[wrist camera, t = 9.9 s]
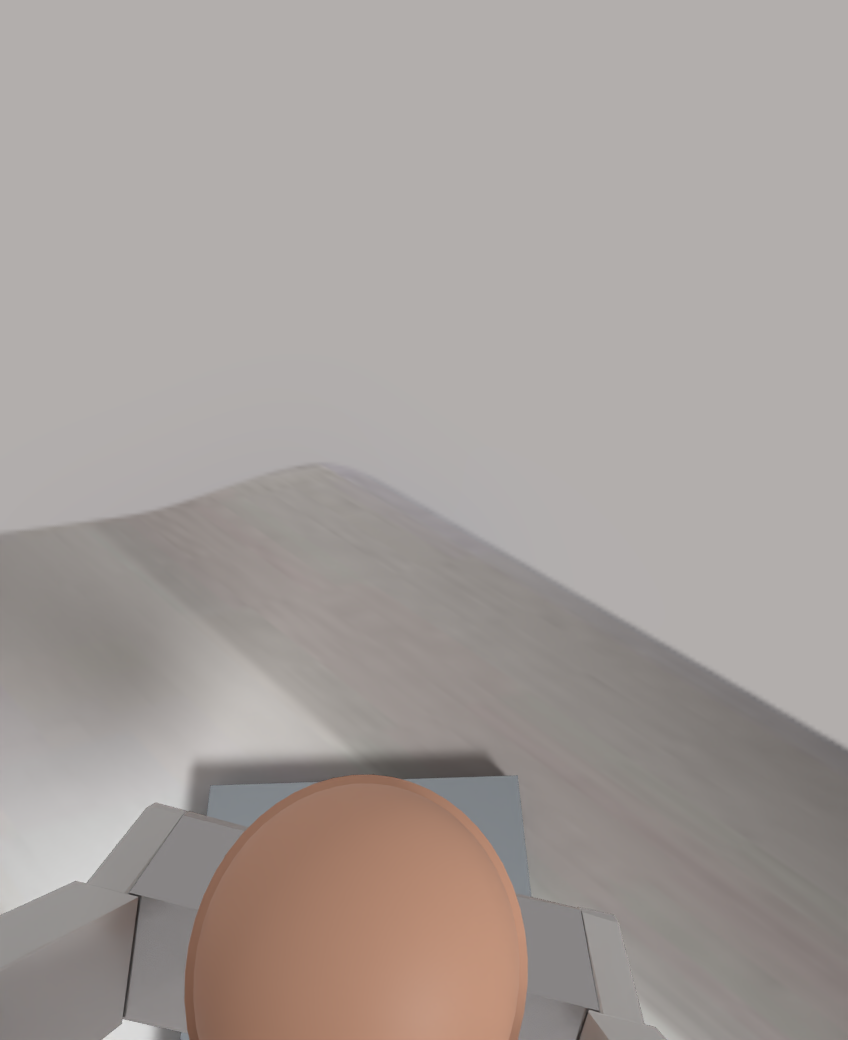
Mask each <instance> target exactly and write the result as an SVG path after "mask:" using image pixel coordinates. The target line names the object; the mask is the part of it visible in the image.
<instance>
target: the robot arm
mask: <svg viewBox="0 0 848 1040" xmlns="http://www.w3.org/2000/svg"><path fill="white" fill-rule="evenodd" d="M247 828H248V827H246V826H242V825H239V824H235V823H231V822H228V821H224V820H220V819H217V818H213V817H209V816H206V815H202V814H198V813H195V812H191V811H188V812H187V811H185V810H181V809H178V808H174V807H170V806H166V805H163V804H159V803H154V804H152V805H150V806H149V807H147V808H146V809H145V810H144V811H143V813H142V814H141V815H140V816H139V818H138V819H137V820H136V821H135V823H134V824H133V825H132V826H131V828H130V829H129V830H128V831H127V833H126V834H125V835H124V836H123V838H122V839H121V840H120V842H119V843H118V844H117V845H116V847H115V848H114V849H113V850H112V852H111V853H110V854H109V855H108V857H107V858H106V859H105V860H104V862H103V863H102V864H101V865H100V867H99V868H98V869H97V870H96V872H95V873H94V874H93V875H92V877H91V878H90V879H89V880H88V882H87V883H82V882H78V881H74V882H72V883H70V884H68V885H66V886H63V887H61V888H59V889H57V890H55V891H52V892H50V893H48V894H46V895H44V896H41V897H39V898H37V899H35V900H33V901H30V902H28V903H26V904H24V905H22V906H19V907H17V908H15V909H13V910H11V911H8V912H6V913H4V914H2V915H0V1040H102V1039H103V1038H104V1037H106V1036H107V1035H108V1034H109V1033H111V1032H112V1031H113V1030H114V1029H116V1028H117V1027H118V1026H120V1025H121V1024H122V1019H125V1020H129V1021H134V1022H138V1023H143V1024H147V1025H152V1026H156V1027H161V1028H165V1029H170V1030H174V1031H178V1032H183V1033H187V1034H188V1031H187V1023H186V1013H185V1002H184V994H185V969H186V961H187V953H188V946H189V942H190V938H191V933H192V929H193V925H194V921H195V918H196V915H197V912H198V910H199V907H200V904H201V901H202V899H203V896H204V894H205V892H206V890H207V887H208V885H209V883H210V881H211V879H212V877H213V875H214V873H215V871H216V870H217V868H218V867H219V865H220V864H221V862H222V860H223V859H224V857H225V856H226V854H227V852H228V851H229V850H230V849H231V847H232V846H233V845H234V844H235V842H236V841H237V840H238V839H239V837H240V836H241V835H242V834H243V832H244V831H245V830H246V829H247ZM515 894H516V897H517V900H518V903H519V906H520V910H521V915H522V919H523V924H524V929H525V935H526V945H527V956H528V983H527V993H526V1002H525V1010H524V1015H523V1020H522V1024H521V1028H520V1032H519V1037H518V1040H666V1039H665V1037H664V1036H663V1035H662V1034H661V1033H660V1031H659V1030H658V1029H657V1028H656V1027H653V1026H649V1025H645V1023H644V1020H643V1016H642V1012H641V1008H640V1004H639V1000H638V996H637V992H636V988H635V984H634V980H633V977H632V973H631V969H630V965H629V961H628V957H627V953H626V949H625V945H624V941H623V937H622V934H621V930H620V926H619V922H618V920H617V919H616V917H615V916H614V915H612V914H608V913H603V912H599V911H594V910H590V909H585V908H581V907H578V908H575V907H572V906H568V905H564V904H559V903H555V902H551V901H547V900H543V899H538V898H534V897H530V896H526V895H522V894H517V893H515Z"/></svg>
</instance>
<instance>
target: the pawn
mask: <svg viewBox="0 0 848 1040" xmlns="http://www.w3.org/2000/svg"><path fill="white" fill-rule="evenodd" d="M527 983H528V956H527V945H526V935H525V929H524V924H523V919H522V915H521V910H520V906H519V903H518V900H517V897H516V894H515V891H514V888H513V885H512V883H511V880H510V878H509V876H508V874H507V872H506V869H505V867H504V865H503V863H502V861H501V860H500V858H499V856H498V855H497V853H496V851H495V850H494V848H493V846H492V845H491V843H490V842H489V841H488V840H487V838H486V837H485V836H484V834H483V833H482V832H481V831H480V829H479V828H478V827H477V826H476V825H475V824H474V823H473V822H472V821H471V820H470V819H469V818H468V817H467V816H466V815H465V814H464V813H463V812H462V811H461V810H459V809H458V808H457V807H456V806H454V805H453V804H452V803H450V802H449V801H448V800H446V799H445V798H443V797H441V796H440V795H438V794H436V793H434V792H433V791H431V790H429V789H427V788H424V787H422V786H420V785H417V784H415V783H412V782H409V781H406V780H402V779H398V778H394V777H388V776H380V775H350V776H343V777H337V778H332V779H328V780H325V781H322V782H318V783H315V784H312V785H310V786H308V787H306V788H303V789H301V790H299V791H297V792H294V793H293V794H291V795H289V796H288V797H286V798H285V799H283V800H281V801H280V802H278V803H276V804H275V805H274V806H272V807H271V808H270V809H269V810H267V811H266V812H265V813H264V814H262V815H261V816H260V817H259V818H258V819H257V820H256V821H255V822H254V823H253V824H252V825H251V826H250V827H248V828H247V829H246V830H245V831H244V832H243V834H242V835H241V836H240V837H239V839H238V840H237V841H236V842H235V844H234V845H233V846H232V847H231V849H230V850H229V851H228V852H227V854H226V856H225V857H224V859H223V860H222V862H221V864H220V865H219V867H218V868H217V870H216V871H215V873H214V875H213V877H212V879H211V881H210V883H209V885H208V887H207V890H206V892H205V894H204V896H203V899H202V901H201V904H200V907H199V910H198V912H197V915H196V918H195V921H194V925H193V929H192V933H191V938H190V942H189V946H188V953H187V961H186V969H185V994H184V1002H185V1013H186V1023H187V1031H188V1035H189V1040H518V1037H519V1032H520V1028H521V1024H522V1020H523V1015H524V1010H525V1002H526V993H527Z"/></svg>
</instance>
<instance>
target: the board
mask: <svg viewBox="0 0 848 1040" xmlns="http://www.w3.org/2000/svg"><path fill="white" fill-rule="evenodd" d="M402 780H406V781H409V782H412V783H415V784H417V785H420V786H422V787H424V788H427V789H429V790H431V791H433V792H434V793H436V794H438V795H440V796H441V797H443V798H445V799H446V800H448V801H449V802H450V803H452V804H453V805H454V806H456V807H457V808H458V809H459V810H461V811H462V812H463V813H464V814H465V815H466V816H467V817H468V818H469V819H470V820H471V821H472V822H473V823H474V824H475V825H476V826H477V827H478V828H479V829H480V831H481V832H482V833H483V834H484V836H485V837H486V838H487V840H488V841H489V842H490V843H491V845H492V846H493V848H494V850H495V851H496V853H497V855H498V856H499V858H500V860H501V861H502V863H503V865H504V867H505V869H506V872H507V874H508V876H509V878H510V880H511V883H512V885H513V888H514V891H515V893H517V894H522V895H526V896H530V897H531V890H530V881H529V872H528V863H527V855H526V846H525V837H524V828H523V819H522V810H521V801H520V793H519V784H518V775H516V776H485V777H454V778H423V779H402ZM315 783H318V782H300V783H269V784H238V785H210V793H209V801H208V810H207V816H209V817H213V818H217V819H220V820H224V821H228V822H231V823H235V824H239V825H242V826H246V827H250V826H251V825H252V824H253V823H254V822H255V821H256V820H257V819H258V818H259V817H260V816H261V815H262V814H264V813H265V812H266V811H267V810H269V809H270V808H271V807H272V806H274V805H275V804H276V803H278V802H280V801H281V800H283V799H285V798H286V797H288V796H289V795H291V794H293V793H294V792H297V791H299V790H301V789H303V788H306V787H308V786H310V785H312V784H315ZM180 1040H189V1035H188V1034H187V1033H183V1032H181V1038H180Z"/></svg>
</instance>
